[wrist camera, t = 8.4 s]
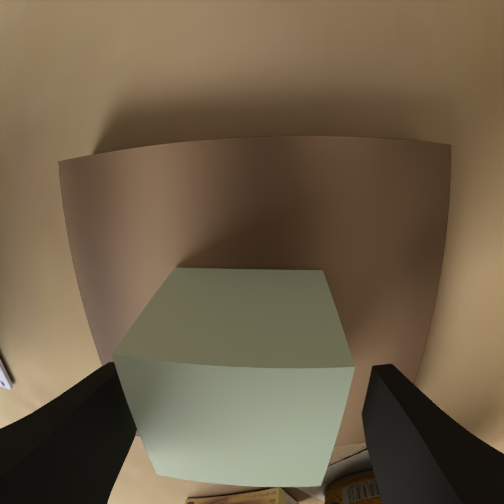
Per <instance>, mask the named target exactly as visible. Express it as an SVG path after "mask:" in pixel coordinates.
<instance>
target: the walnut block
mask: <svg viewBox="0 0 504 504" xmlns="http://www.w3.org/2000/svg"><path fill="white" fill-rule="evenodd" d="M58 165H59V175H60V185H61V193H62V201H63V208H64V215H65V222H66V228H67V234H68V239H69V245H70V250H71V255H72V260H73V264H74V269H75V273H76V278H77V282H78V286H79V290H80V294H81V298H82V302H83V306H84V309H85V313H86V316H87V320H88V323H89V327H90V330H91V333H92V336H93V340H94V343H95V346H96V349H97V352H98V355H99V358H100V361H101V364H102V366H103V365H105V364H107V363H108V362H114V360H113V357H112V353H113V352H114V350H115V349H116V348H117V346H118V345H119V343H120V342H121V340H122V339H123V338H124V336H125V335H126V333H127V332H128V331H129V329H130V328H131V326H132V325H133V323H134V322H135V321H136V319H137V318H138V317H139V315H140V314H141V312H142V311H143V310H144V308H145V307H146V305H147V304H148V303H149V301H150V300H151V299H152V297H153V296H154V295H155V293H156V292H157V290H158V289H159V288H160V286H161V285H162V284H163V282H164V281H165V280H166V278H167V277H168V276H169V274H170V273H171V272H172V270H173V269H174V268H175V267H178V268H217V269H269V270H323V272H324V275H325V278H326V281H327V283H328V286H329V289H330V292H331V295H332V298H333V301H334V304H335V307H336V309H337V312H338V315H339V318H340V321H341V324H342V327H343V331H344V334H345V337H346V340H347V343H348V346H349V349H350V352H351V355H352V359H353V362H354V365H355V369H354V374H353V378H352V382H351V386H350V390H349V394H348V398H347V402H346V406H345V410H344V414H343V417H342V421H341V424H340V428H339V431H338V435H337V438H336V441H335V445H346V444H355V443H363V442H366V441H365V435H364V428H363V421H362V410H363V406H364V401H365V397H366V393H367V388H368V384H369V379H370V374H371V369H372V366H374V365H383V364H393V365H394V366H395V367H396V368H397V369H398V370H399V371H400V372H401V373H403V374H404V375H405V376H406V377H407V378H408V379H409V380H410V381H411V382H412V383H413V384H414V382H415V378H416V375H417V372H418V369H419V365H420V362H421V359H422V355H423V351H424V348H425V344H426V340H427V336H428V332H429V328H430V324H431V320H432V315H433V311H434V306H435V301H436V296H437V291H438V285H439V280H440V274H441V268H442V261H443V254H444V247H445V239H446V230H447V220H448V209H449V194H450V172H451V145H448V144H440V143H431V142H422V141H411V140H400V139H387V138H371V137H349V136H263V137H241V138H224V139H211V140H199V141H188V142H178V143H169V144H160V145H152V146H145V147H138V148H131V149H124V150H118V151H111V152H105V153H100V154H94V155H89V156H83V157H78V158H73V159H68V160H64V161H59V162H58ZM135 436H140V435H139V432H138V430H137V431H136V435H135ZM335 445H334V446H335Z"/></svg>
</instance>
